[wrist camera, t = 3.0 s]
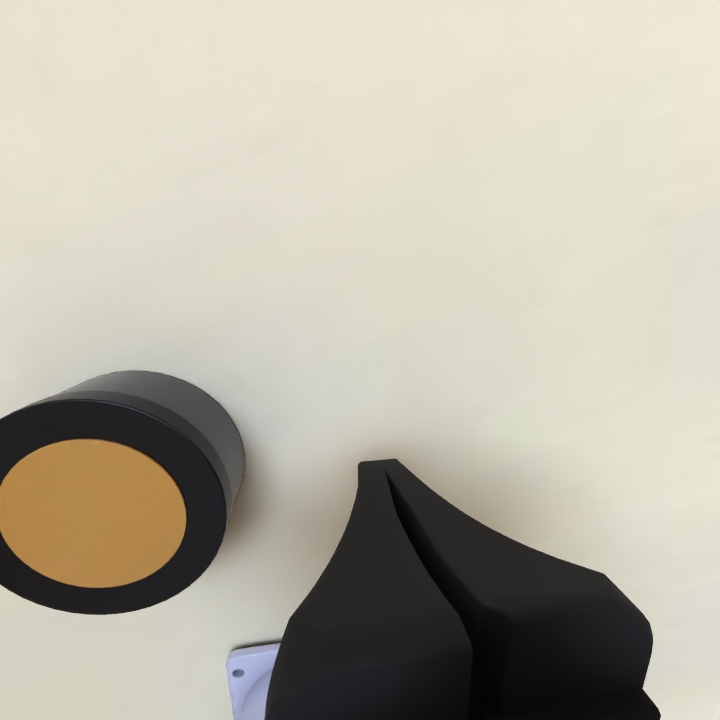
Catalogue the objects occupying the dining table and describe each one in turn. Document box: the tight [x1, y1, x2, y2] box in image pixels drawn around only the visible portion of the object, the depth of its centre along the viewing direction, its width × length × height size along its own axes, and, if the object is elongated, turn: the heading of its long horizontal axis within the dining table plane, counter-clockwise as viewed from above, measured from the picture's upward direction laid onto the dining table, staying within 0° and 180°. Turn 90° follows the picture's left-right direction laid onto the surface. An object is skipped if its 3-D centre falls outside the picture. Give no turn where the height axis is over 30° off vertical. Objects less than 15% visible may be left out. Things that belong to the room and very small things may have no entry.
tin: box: [0, 371, 245, 615], centre depth 12 cm, size 8×8×3 cm
